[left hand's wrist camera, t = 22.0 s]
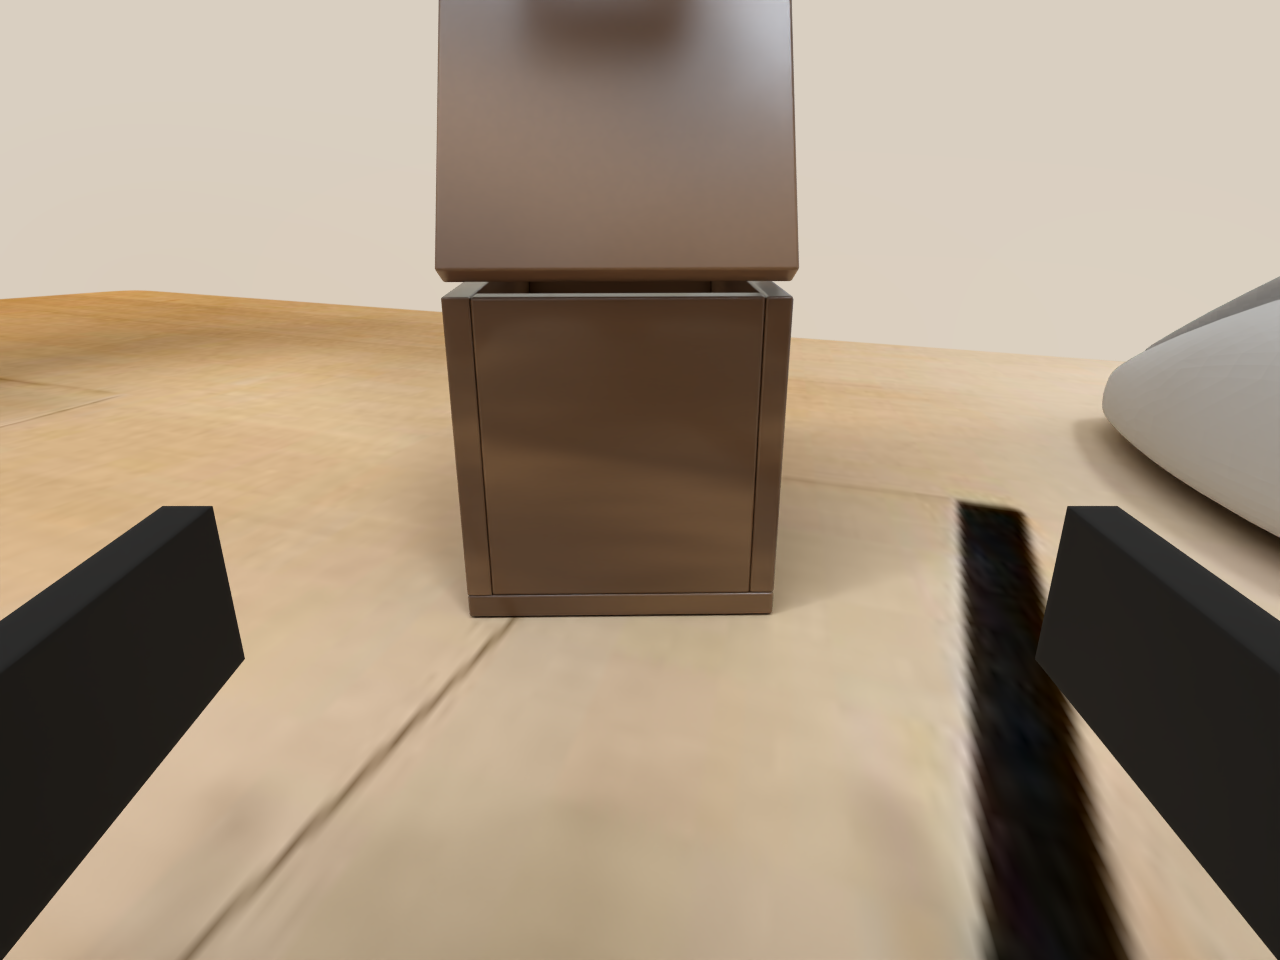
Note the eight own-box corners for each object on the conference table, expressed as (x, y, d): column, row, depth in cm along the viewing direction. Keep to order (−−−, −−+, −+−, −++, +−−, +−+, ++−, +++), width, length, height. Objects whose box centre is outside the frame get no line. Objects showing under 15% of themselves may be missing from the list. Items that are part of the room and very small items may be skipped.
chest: (524, 458, 38) (511, 247, 35) (719, 457, 38) (727, 246, 35) (469, 617, 25) (440, 297, 21) (772, 613, 25) (794, 296, 21)
